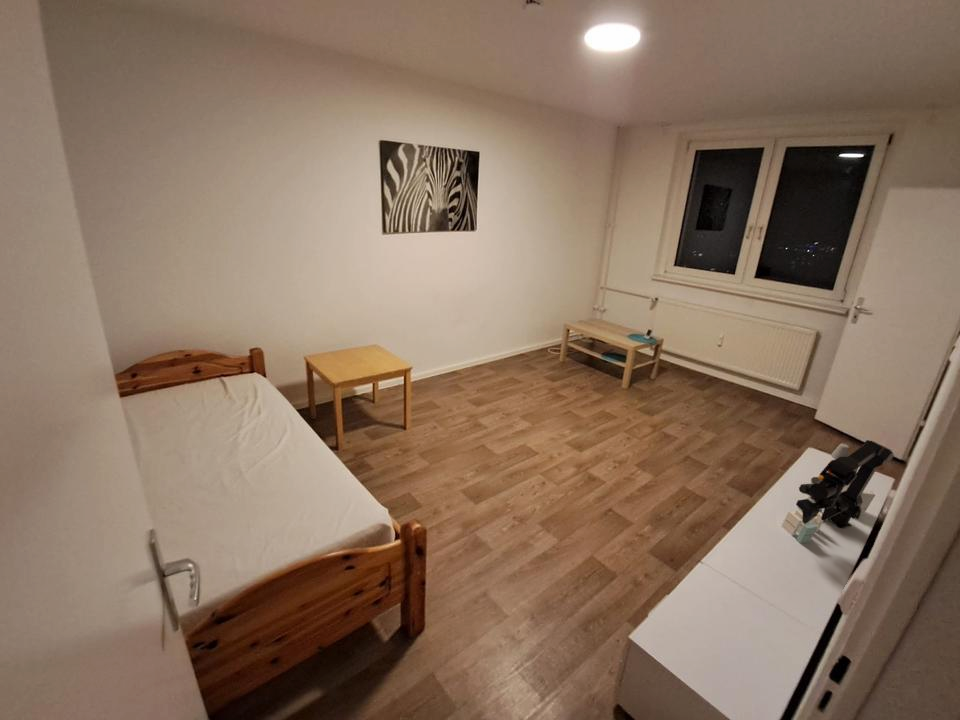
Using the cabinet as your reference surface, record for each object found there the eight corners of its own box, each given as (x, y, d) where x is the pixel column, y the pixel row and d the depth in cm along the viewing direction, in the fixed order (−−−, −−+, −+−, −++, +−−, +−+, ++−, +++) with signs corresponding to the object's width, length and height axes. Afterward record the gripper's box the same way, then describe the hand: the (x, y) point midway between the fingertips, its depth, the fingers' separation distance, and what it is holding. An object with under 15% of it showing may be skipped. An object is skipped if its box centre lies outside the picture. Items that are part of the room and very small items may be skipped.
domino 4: (799, 523, 182) (807, 508, 179) (810, 532, 178) (818, 518, 174) (796, 523, 182) (804, 509, 178) (807, 533, 177) (815, 518, 174)
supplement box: (851, 505, 196) (864, 483, 190) (862, 517, 189) (876, 494, 183) (834, 502, 196) (846, 480, 191) (844, 514, 189) (858, 492, 184)
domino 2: (792, 524, 181) (799, 510, 178) (802, 533, 177) (810, 519, 173) (788, 524, 181) (796, 510, 177) (799, 534, 176) (807, 519, 173)
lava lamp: (826, 519, 186) (864, 453, 171) (805, 517, 185) (842, 451, 170) (812, 504, 194) (847, 439, 179) (792, 502, 194) (826, 437, 179)
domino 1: (784, 525, 180) (791, 511, 177) (794, 535, 176) (802, 520, 172) (781, 526, 180) (788, 511, 176) (791, 535, 175) (799, 520, 172)
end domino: (807, 522, 183) (814, 507, 180) (817, 531, 179) (826, 516, 175) (804, 522, 183) (811, 508, 179) (814, 531, 178) (823, 517, 175)
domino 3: (795, 540, 173) (804, 525, 170) (805, 538, 175) (813, 523, 171) (799, 543, 172) (807, 528, 169) (809, 541, 173) (817, 526, 170)
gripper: (829, 473, 172) (813, 503, 178) (792, 478, 167) (776, 508, 174) (857, 493, 162) (839, 524, 169) (818, 499, 157) (801, 530, 164)
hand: (813, 521), depth 169 cm, fingers open, 9 cm apart
